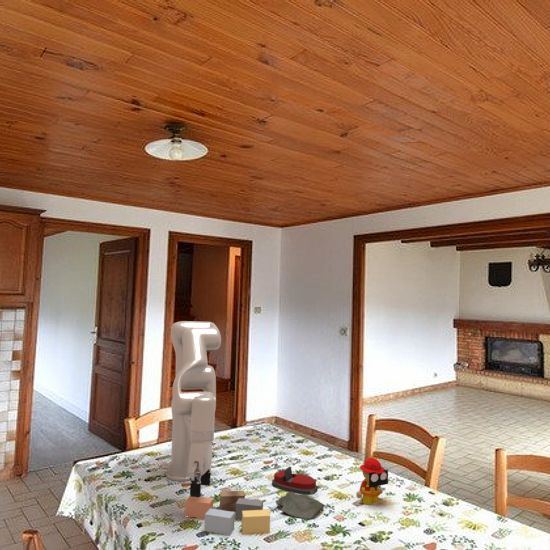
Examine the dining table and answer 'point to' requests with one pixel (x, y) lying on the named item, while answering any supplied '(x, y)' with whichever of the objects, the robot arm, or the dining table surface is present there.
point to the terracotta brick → (198, 506)
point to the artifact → (300, 505)
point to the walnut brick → (230, 499)
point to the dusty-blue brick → (219, 521)
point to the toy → (372, 481)
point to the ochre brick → (255, 521)
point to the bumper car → (294, 481)
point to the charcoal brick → (247, 506)
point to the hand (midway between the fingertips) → (200, 490)
